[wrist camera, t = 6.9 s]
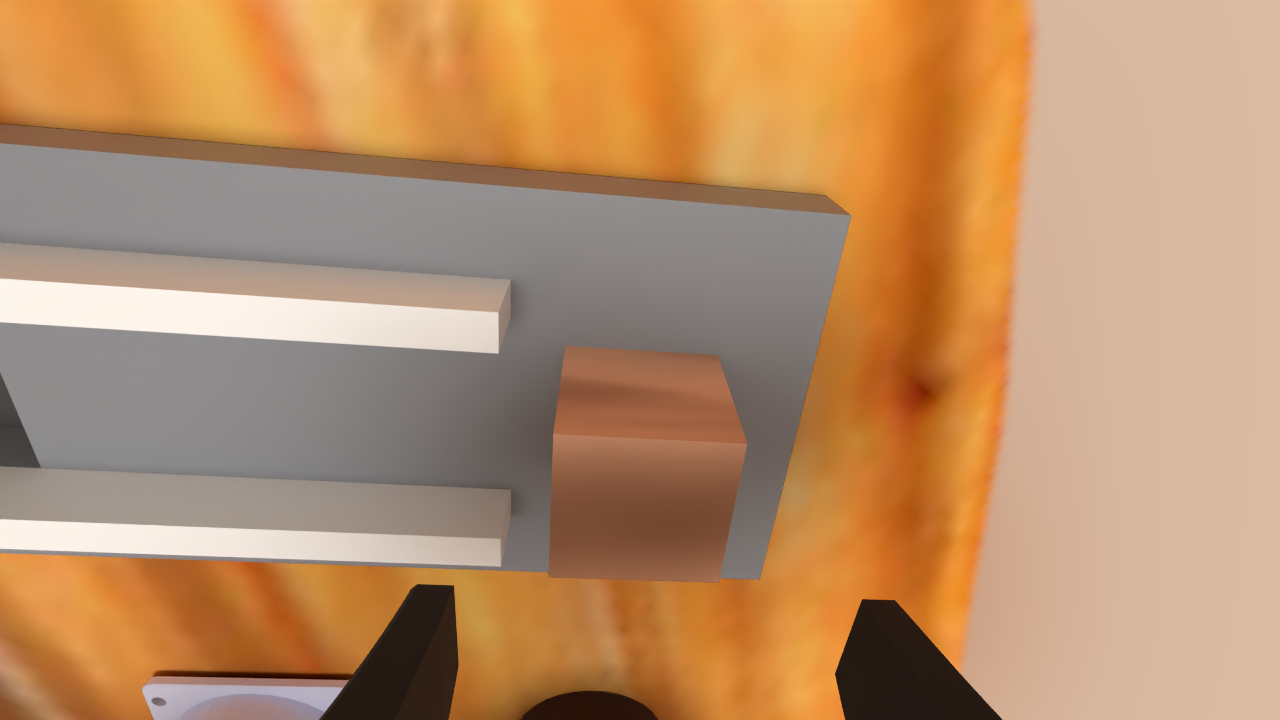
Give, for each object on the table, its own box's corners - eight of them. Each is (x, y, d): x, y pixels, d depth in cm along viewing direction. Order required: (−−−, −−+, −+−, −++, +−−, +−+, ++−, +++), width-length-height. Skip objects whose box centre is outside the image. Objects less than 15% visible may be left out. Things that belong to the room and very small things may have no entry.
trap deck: (747, 535, 22) (759, 579, 21) (-120, 500, 20) (-190, 546, 18) (825, 195, 17) (851, 215, 15) (-360, 92, 14) (-495, 101, 13)
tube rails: (510, 516, 19) (500, 566, 17) (-212, 485, 17) (-306, 537, 16) (511, 279, 15) (498, 312, 14) (-393, 213, 14) (-540, 241, 12)
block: (697, 476, 18) (718, 582, 15) (560, 470, 18) (548, 577, 15) (717, 355, 17) (747, 443, 13) (565, 345, 16) (552, 434, 13)
